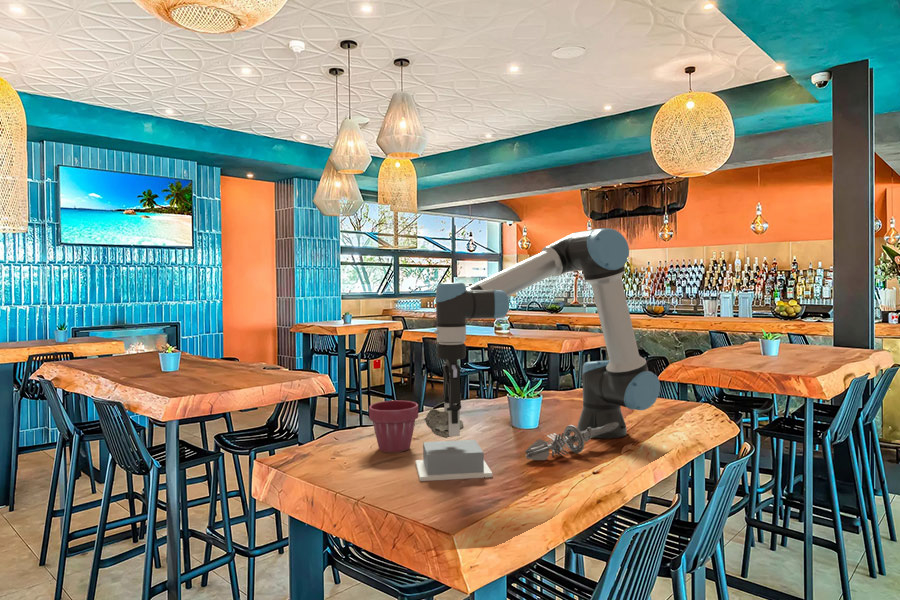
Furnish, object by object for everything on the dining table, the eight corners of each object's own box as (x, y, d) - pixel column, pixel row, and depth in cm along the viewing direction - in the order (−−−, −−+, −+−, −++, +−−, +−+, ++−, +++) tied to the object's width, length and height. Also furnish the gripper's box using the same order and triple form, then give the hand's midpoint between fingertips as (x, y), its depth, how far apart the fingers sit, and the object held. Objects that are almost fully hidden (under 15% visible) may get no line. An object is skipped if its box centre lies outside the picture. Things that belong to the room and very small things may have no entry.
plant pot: (376, 457, 163) (376, 411, 162) (364, 445, 176) (364, 402, 175) (425, 451, 168) (424, 407, 168) (410, 439, 181) (409, 398, 181)
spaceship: (631, 420, 170) (611, 405, 176) (537, 451, 152) (518, 434, 158) (625, 442, 173) (605, 427, 179) (532, 476, 155) (514, 458, 161)
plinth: (481, 460, 159) (481, 438, 159) (492, 477, 145) (492, 452, 145) (415, 463, 157) (415, 441, 156) (419, 481, 143) (419, 456, 143)
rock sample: (427, 425, 144) (436, 396, 150) (416, 439, 149) (425, 411, 156) (466, 442, 145) (473, 412, 151) (454, 456, 150) (461, 427, 157)
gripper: (432, 339, 160) (433, 423, 160) (441, 347, 139) (442, 443, 140) (459, 339, 161) (460, 422, 161) (472, 346, 140) (473, 441, 141)
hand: (451, 431), depth 151 cm, fingers closed on rock sample, 8 cm apart
